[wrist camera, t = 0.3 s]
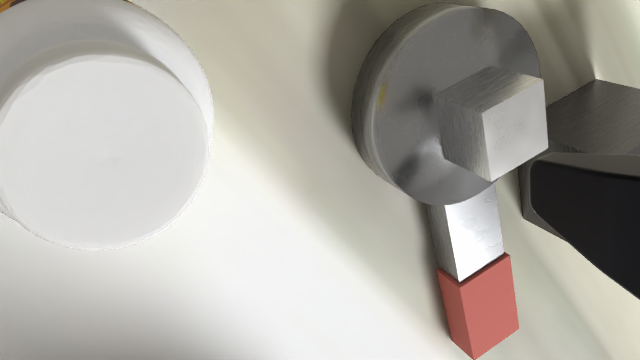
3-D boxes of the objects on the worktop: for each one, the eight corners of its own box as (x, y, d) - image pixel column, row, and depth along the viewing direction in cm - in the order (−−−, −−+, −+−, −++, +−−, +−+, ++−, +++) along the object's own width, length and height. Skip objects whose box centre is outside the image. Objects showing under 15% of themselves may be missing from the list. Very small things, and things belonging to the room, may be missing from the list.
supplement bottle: (104, -51, 18) (182, -49, 9) (177, 99, 21) (286, 203, 12) (-71, 15, 16) (-163, 90, 8) (33, 167, 19) (46, 339, 11)
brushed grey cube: (598, 170, 35) (693, 207, 30) (523, 218, 33) (612, 266, 28) (596, 79, 31) (703, 103, 26) (513, 126, 30) (612, 162, 25)
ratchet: (526, 289, 36) (600, 338, 31) (417, 364, 33) (480, 429, 29) (491, -26, 25) (593, -20, 21) (329, 48, 23) (405, 73, 18)
